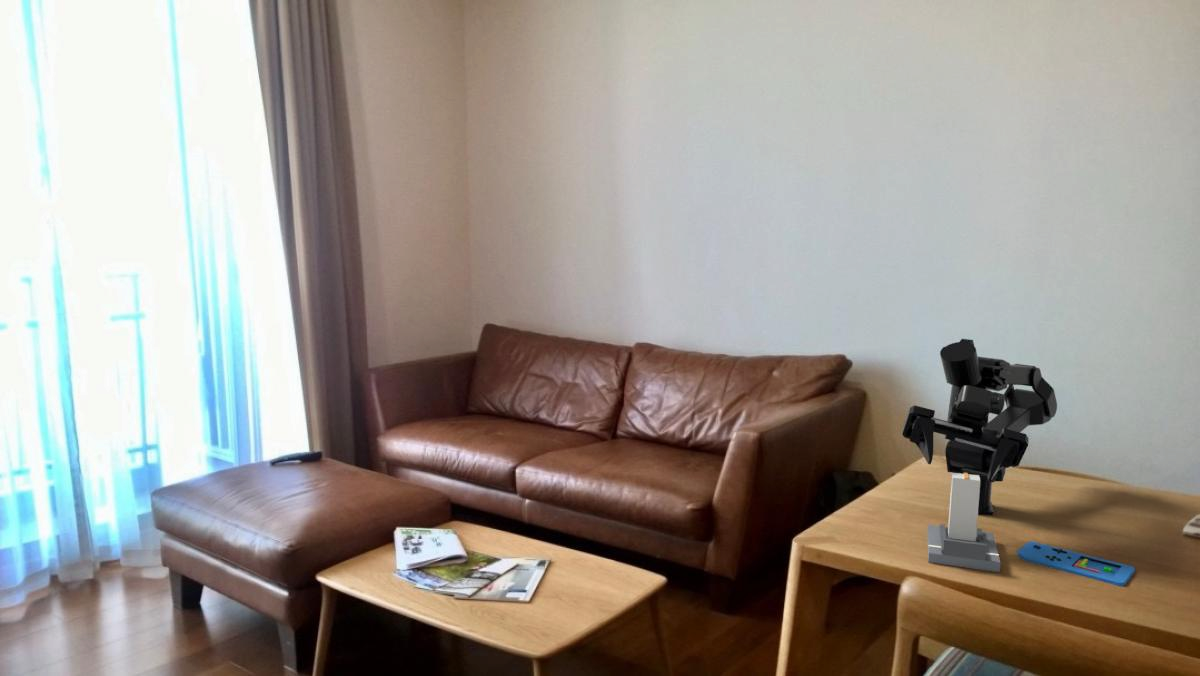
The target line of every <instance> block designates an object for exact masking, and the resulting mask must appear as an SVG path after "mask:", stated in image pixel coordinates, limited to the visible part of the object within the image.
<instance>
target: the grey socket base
mask: <svg viewBox="0 0 1200 676" xmlns="http://www.w3.org/2000/svg"><path fill="white" fill-rule="evenodd" d="M926 532H927V533H926V534H927V561H928V562H927V563H931V564H939V565H946V566H953V567H959V568H960V567H961V568H967V569H974V570H979V571H980V570H981V571H987V572H995V573H1001V560H1000V559H1001V558H1000V554H999V552H998V551H999V550H998V547H997V543H996V539H995V535H994V532H990V531H989V532H988V531H983V529H982V528H978V527H977V532H976V542H975V541H968V540H960V539H953V538H948V526H946V524H944V523H939V525H932V524H927V531H926Z"/></svg>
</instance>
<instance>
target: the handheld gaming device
mask: <svg viewBox="0 0 1200 676" xmlns="http://www.w3.org/2000/svg"><path fill="white" fill-rule="evenodd" d="M1016 555H1017V557H1018V556H1019V557H1020V558H1019V557H1018V558H1019V559H1021V558H1022V559H1021V560H1023V559H1024V560H1023V561H1025V562H1028V563H1030V564H1031V563H1033V564H1035V563H1036V565H1039V564H1040V565H1039V566H1042V565H1044V566H1043V567H1046V566H1048V567H1047V568H1050V567H1051V569H1054V568H1055V569H1054V570H1058V569H1059V570H1058V571H1061V570H1062V572H1065V571H1066V572H1065V573H1069V574H1073V575H1076V574H1077V575H1076V576H1080V575H1081V576H1080V577H1084V576H1085V577H1084V578H1088V579H1091V578H1092V579H1091V580H1095V579H1096V581H1099V582H1103V583H1107V584H1110V585H1111V584H1112V585H1115V586H1117V587H1125V586H1126V584H1127V583H1128V581H1130V579H1131V578H1132V576H1133V575H1134V574H1135V572H1136V568H1135V566H1132V565H1130V564H1129V565H1127V564H1125V563H1120V562H1116V561H1111V560H1109V559H1103V558H1101V557H1100V558H1099V557H1097V556H1093V555H1092V556H1091V555H1089V554H1084V553H1080V552H1076V551H1072V550H1069V549H1064V548H1061V547H1057V546H1052V545H1049V544H1044V543H1040V542H1037V541H1032V540H1031V541H1028V542H1027V543H1026V544H1025V545H1024V546H1022V547H1021V548H1020V549H1019V550H1018V551H1017V554H1016Z"/></svg>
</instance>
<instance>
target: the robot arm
mask: <svg viewBox="0 0 1200 676" xmlns="http://www.w3.org/2000/svg"><path fill="white" fill-rule="evenodd" d="M976 348H977V347H975V342H974V339H967V338H961V339H960V341H957V342H952V343H949V344H947V345H945V346H943V347H942V348H941V350H940V351H939V352H940V353H939V356H940V361H941V363H942V368H943V371H944V372H943V373H944V376H945V379H946V380H945V381H946V383H947V384H949V385H951V390H950V397H949V404H948V412H947V418H946V419H947V420H943V419H940V418H936V417H935V414H936V413H935V410H934V409H930V408H926V407H923V406H919V405H916V404H914V405H912V406H911V407H909V410H908V411H907V412H908V413H907V415H906V418H905V421H904V423H903V428H902V434H901V435H902V436H903V437H904V439H909V442H911V443H913V444H914V445H916V447H917V448H918V449H919V451H920V452H921V454H922V456H923V457H924V459H925V461H926V464H928V465H931V464H932V462H933V457H934V433H936V434H939V435H944V439H946V440H947V441H948V440H949V441H948V442H947V443H946V446H945V452H944V453H945V462H946V463H945V464H946V470H947V473H961V474H964V473H968V474H971V475H979V477H980V492H979V506H978V514H986V515H993V514H995V513H994V510H995V509H994V507H993V504H992V501H991V499H992V498H991V497H992V487H993V485H992V484H993V483H995V482H1003V481H1004V477H1005V475H1006V469H1008V468H1010V467H1012V468H1016V467H1019V466H1020V463H1021V461H1022V459H1023V458H1024V456H1025V455H1024V454H1025V452H1026V451H1027V449H1028V447H1029V437H1028V435H1027V434H1026V433H1024V432H1023V431H1024V430H1025V429H1026V428H1027V427H1029V426H1041V425H1044V424H1046V423H1049V422H1050V421H1051V419H1052V418H1054V417H1055V416H1056V413H1057V411H1058V410H1057V409H1058V402H1057V398H1056V393H1055V389H1054V387H1052V386H1051V385H1050V384H1049V383H1048V382H1047V381H1046V380H1045V378H1044V377H1043V376H1042V373H1041V369H1040V368H1039V367H1037V366H1035V365H1028V364H1020V363H1015V364H1011V363H1010V362H1008V361H1006V360H1004V359H1001V358H994V357H993V358H992V357H983V356H978V352H977V349H976ZM1014 386H1025V387H1026V386H1027V387H1031V388H1032V390H1030V389H1029V390H1028V389H1021V388H1015V387H1014ZM1003 390H1005V391H1004V393H1001V391H1003ZM1005 405H1006V408H1005V409H1004V407H1005ZM989 414H992V415H993V414H994V415H996V416H995V417H993V418H992V419H991V420H990V421H989Z"/></svg>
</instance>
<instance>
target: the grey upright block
mask: <svg viewBox="0 0 1200 676" xmlns="http://www.w3.org/2000/svg"><path fill="white" fill-rule="evenodd" d="M979 492H980V477H979V475H971V474H968V473H964V474H961V473H953V472H951V482H950V495H949V497H950V499H949V509H948V510H949V511H948V512H949V513H948V524H947V527H948V538H953V539H960V540H968V541H975V542H976V532H977V528H978V518H979V513H978V506H979Z"/></svg>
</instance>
